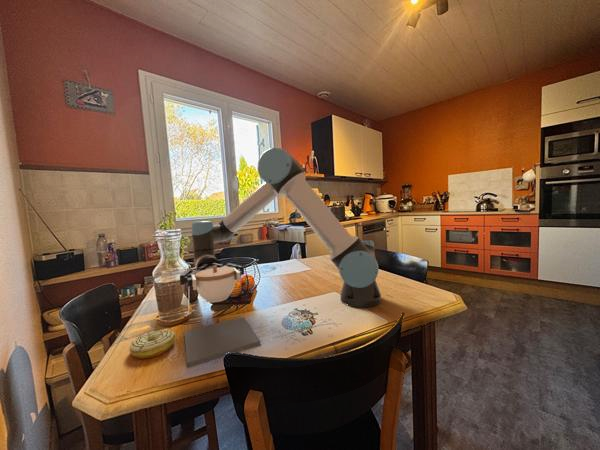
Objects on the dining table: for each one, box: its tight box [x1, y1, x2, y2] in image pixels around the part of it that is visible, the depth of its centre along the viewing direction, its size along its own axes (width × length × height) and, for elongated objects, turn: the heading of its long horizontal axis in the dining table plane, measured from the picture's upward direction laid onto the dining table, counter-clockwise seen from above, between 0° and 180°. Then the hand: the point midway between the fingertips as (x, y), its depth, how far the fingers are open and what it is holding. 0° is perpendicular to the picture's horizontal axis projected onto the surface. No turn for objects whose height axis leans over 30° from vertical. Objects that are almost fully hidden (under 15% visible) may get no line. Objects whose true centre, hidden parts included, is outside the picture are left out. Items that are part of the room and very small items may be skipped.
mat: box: [183, 316, 261, 368], centre depth 69 cm, size 18×18×1 cm
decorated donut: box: [129, 329, 176, 359], centre depth 66 cm, size 10×11×4 cm
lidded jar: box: [195, 266, 236, 304], centre depth 68 cm, size 11×11×9 cm
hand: (218, 281), depth 64 cm, fingers closed on lidded jar, 11 cm apart
